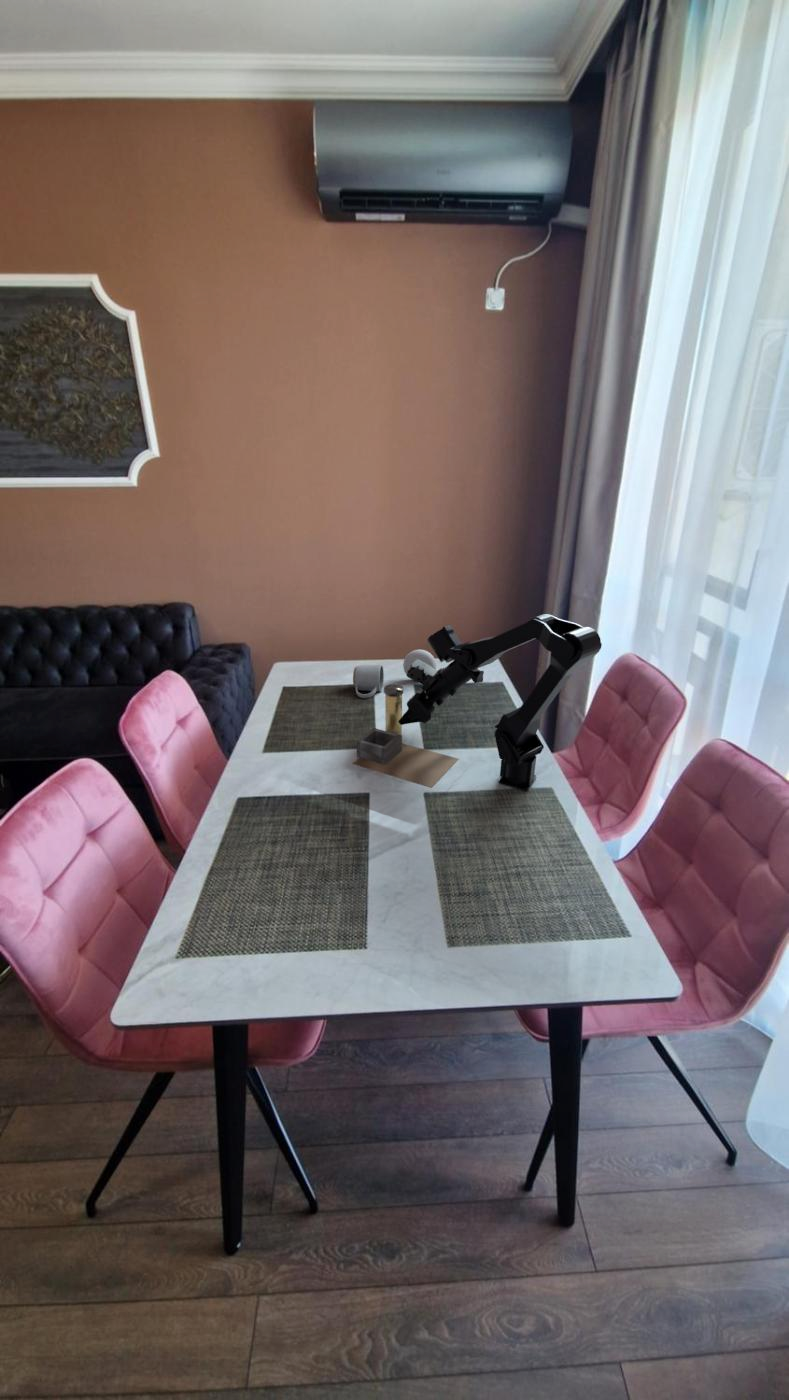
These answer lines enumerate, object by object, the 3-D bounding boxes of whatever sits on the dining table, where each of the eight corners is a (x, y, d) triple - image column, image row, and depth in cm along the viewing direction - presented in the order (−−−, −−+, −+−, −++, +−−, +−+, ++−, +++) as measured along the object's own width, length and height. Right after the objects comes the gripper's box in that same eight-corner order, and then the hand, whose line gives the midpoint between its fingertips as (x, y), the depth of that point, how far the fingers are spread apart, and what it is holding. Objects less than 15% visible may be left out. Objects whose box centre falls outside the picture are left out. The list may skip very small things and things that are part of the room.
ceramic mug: (357, 683, 182) (356, 659, 179) (384, 685, 181) (384, 661, 178) (350, 698, 173) (349, 673, 169) (378, 700, 172) (378, 675, 169)
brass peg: (406, 738, 150) (406, 686, 145) (397, 745, 147) (397, 692, 141) (390, 733, 153) (390, 682, 147) (380, 741, 149) (380, 689, 143)
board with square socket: (458, 764, 139) (460, 743, 137) (431, 793, 128) (432, 771, 125) (380, 742, 148) (380, 722, 146) (349, 768, 137) (348, 747, 135)
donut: (435, 679, 186) (437, 648, 181) (435, 683, 182) (436, 652, 178) (403, 678, 186) (403, 647, 182) (402, 682, 183) (402, 651, 179)
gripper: (439, 639, 145) (396, 676, 153) (416, 665, 129) (369, 705, 137) (470, 673, 146) (425, 709, 154) (450, 704, 130) (402, 741, 138)
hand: (405, 715), depth 146 cm, fingers open, 9 cm apart
